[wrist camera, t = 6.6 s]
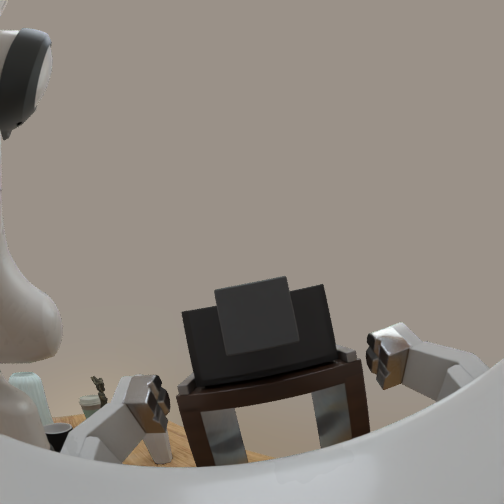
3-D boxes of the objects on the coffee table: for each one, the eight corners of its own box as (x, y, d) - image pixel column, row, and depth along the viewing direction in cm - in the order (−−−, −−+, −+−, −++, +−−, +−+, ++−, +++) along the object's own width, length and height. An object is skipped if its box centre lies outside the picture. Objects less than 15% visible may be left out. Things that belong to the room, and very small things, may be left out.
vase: (57, 450, 43) (34, 375, 48) (24, 449, 38) (1, 375, 43) (62, 437, 53) (43, 371, 58) (32, 437, 47) (14, 371, 52)
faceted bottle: (175, 452, 51) (152, 371, 56) (177, 463, 45) (151, 375, 50) (150, 455, 49) (126, 374, 54) (150, 466, 43) (122, 378, 48)
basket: (218, 361, 32) (209, 313, 33) (307, 343, 32) (297, 296, 33) (143, 447, 8) (109, 304, 10) (413, 392, 9) (387, 249, 10)
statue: (128, 436, 61) (110, 375, 65) (108, 440, 57) (90, 377, 62) (125, 432, 64) (109, 373, 69) (107, 435, 61) (90, 375, 65)
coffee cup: (116, 427, 68) (106, 395, 70) (100, 435, 60) (89, 401, 62) (99, 425, 69) (89, 393, 72) (83, 431, 61) (73, 398, 64)
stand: (249, 502, 29) (210, 354, 36) (336, 484, 30) (311, 334, 36) (246, 577, 12) (173, 386, 18) (372, 551, 12) (359, 348, 18)
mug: (84, 455, 44) (72, 421, 47) (86, 469, 38) (71, 432, 40) (44, 458, 37) (31, 423, 39) (42, 471, 30) (26, 434, 32)
